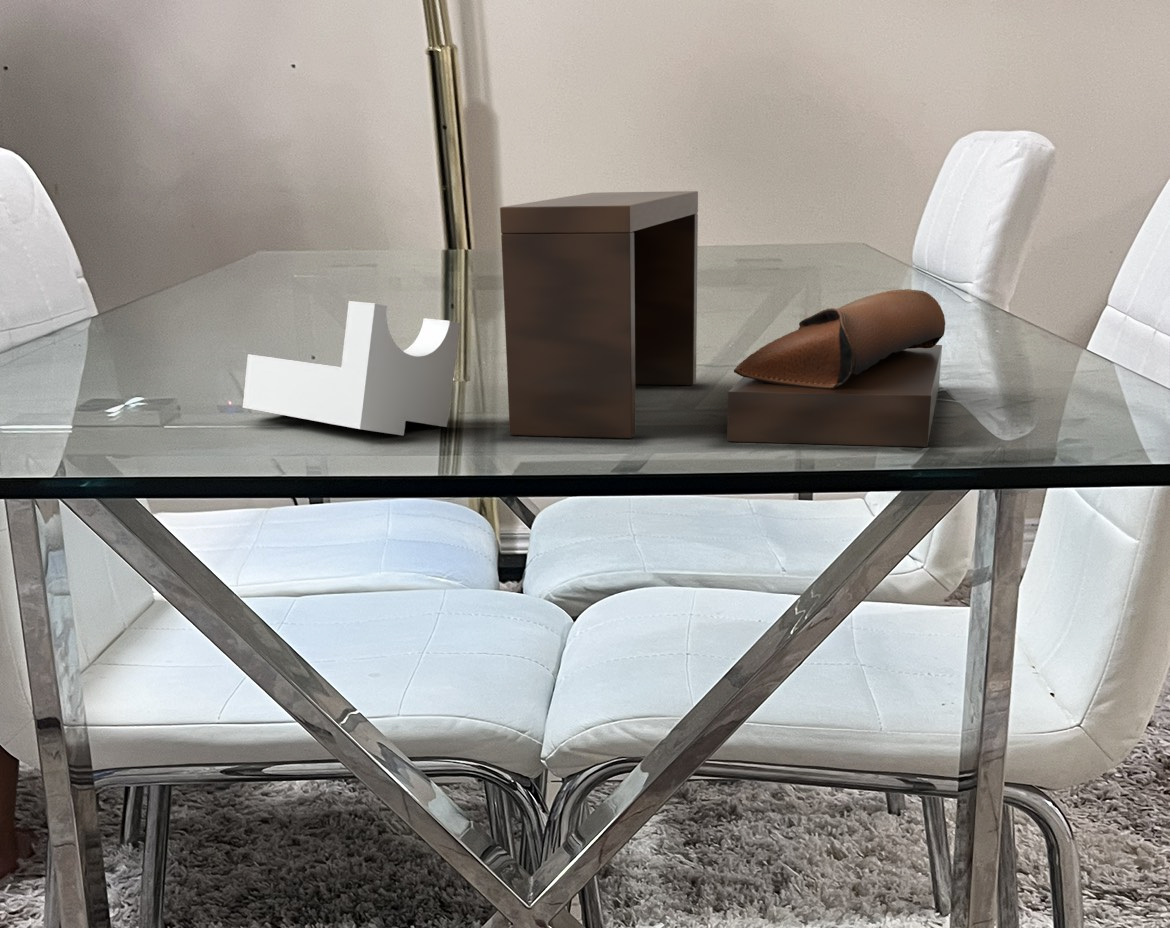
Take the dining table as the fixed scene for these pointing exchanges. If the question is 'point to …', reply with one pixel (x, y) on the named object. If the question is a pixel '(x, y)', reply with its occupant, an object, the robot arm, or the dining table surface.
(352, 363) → the bracket
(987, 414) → the dining table surface
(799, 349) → the sunglasses case
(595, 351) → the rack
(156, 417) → the dining table surface
